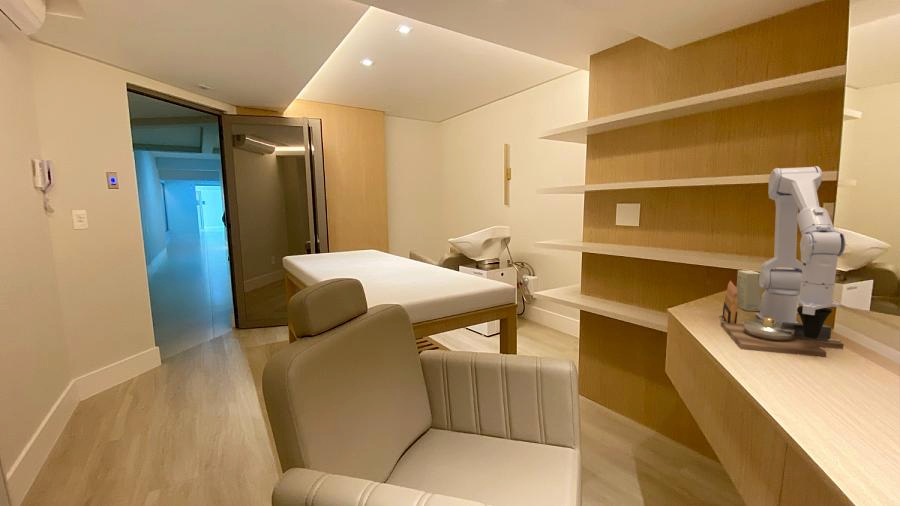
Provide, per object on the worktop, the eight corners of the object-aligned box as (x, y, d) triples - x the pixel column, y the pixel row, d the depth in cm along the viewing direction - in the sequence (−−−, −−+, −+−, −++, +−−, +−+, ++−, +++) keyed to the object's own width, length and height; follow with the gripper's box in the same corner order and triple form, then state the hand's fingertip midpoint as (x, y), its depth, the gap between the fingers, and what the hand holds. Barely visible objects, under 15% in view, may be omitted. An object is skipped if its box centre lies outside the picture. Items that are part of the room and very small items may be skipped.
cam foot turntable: (751, 337, 95) (752, 322, 95) (738, 325, 105) (739, 311, 104) (839, 345, 89) (842, 329, 89) (817, 331, 98) (819, 316, 98)
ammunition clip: (735, 329, 107) (740, 288, 105) (727, 328, 108) (732, 287, 106) (729, 318, 116) (733, 280, 115) (722, 317, 117) (726, 279, 115)
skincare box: (760, 311, 121) (764, 273, 119) (745, 311, 122) (748, 273, 120) (749, 305, 127) (752, 269, 125) (734, 305, 128) (737, 269, 126)
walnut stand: (720, 325, 110) (721, 320, 109) (820, 333, 101) (821, 328, 101) (741, 348, 93) (741, 343, 93) (862, 360, 85) (862, 354, 85)
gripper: (836, 290, 82) (828, 350, 84) (846, 280, 91) (839, 334, 93) (792, 285, 88) (787, 341, 90) (806, 275, 97) (801, 327, 99)
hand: (811, 337), depth 92 cm, fingers closed
